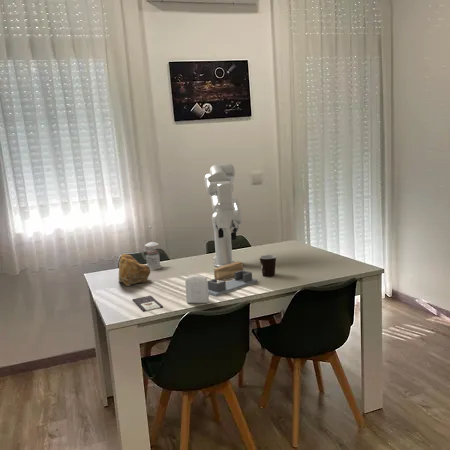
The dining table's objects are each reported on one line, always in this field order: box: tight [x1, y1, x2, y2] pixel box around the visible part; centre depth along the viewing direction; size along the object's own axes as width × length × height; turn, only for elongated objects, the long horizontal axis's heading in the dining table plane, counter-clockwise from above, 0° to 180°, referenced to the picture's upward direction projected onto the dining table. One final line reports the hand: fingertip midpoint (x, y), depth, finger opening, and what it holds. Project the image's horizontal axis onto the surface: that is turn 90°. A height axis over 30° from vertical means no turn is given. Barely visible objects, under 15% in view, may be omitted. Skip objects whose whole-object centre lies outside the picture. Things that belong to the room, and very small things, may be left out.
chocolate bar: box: [132, 295, 164, 312], centre depth 209 cm, size 9×1×18 cm
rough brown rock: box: [118, 253, 151, 287], centre depth 243 cm, size 23×17×15 cm
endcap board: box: [207, 269, 259, 297], centre depth 225 cm, size 10×28×5 cm, turn 133°
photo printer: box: [184, 274, 210, 304], centre depth 206 cm, size 10×4×12 cm, turn 81°
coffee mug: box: [259, 254, 277, 278], centre depth 241 cm, size 12×9×10 cm
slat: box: [213, 260, 244, 281], centre depth 244 cm, size 3×18×6 cm, turn 133°
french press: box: [141, 225, 163, 271], centre depth 270 cm, size 10×12×25 cm
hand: (227, 238), depth 241 cm, fingers open, 9 cm apart
